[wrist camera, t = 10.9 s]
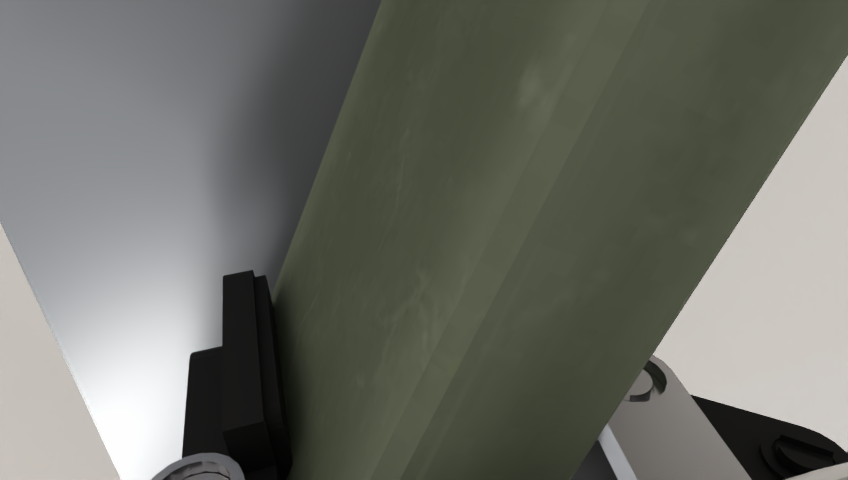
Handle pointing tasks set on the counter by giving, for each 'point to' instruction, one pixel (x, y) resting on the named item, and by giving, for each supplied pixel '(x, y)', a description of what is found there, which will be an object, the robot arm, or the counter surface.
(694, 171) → the handheld radio
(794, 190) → the counter surface
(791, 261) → the counter surface
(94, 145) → the charging dock
